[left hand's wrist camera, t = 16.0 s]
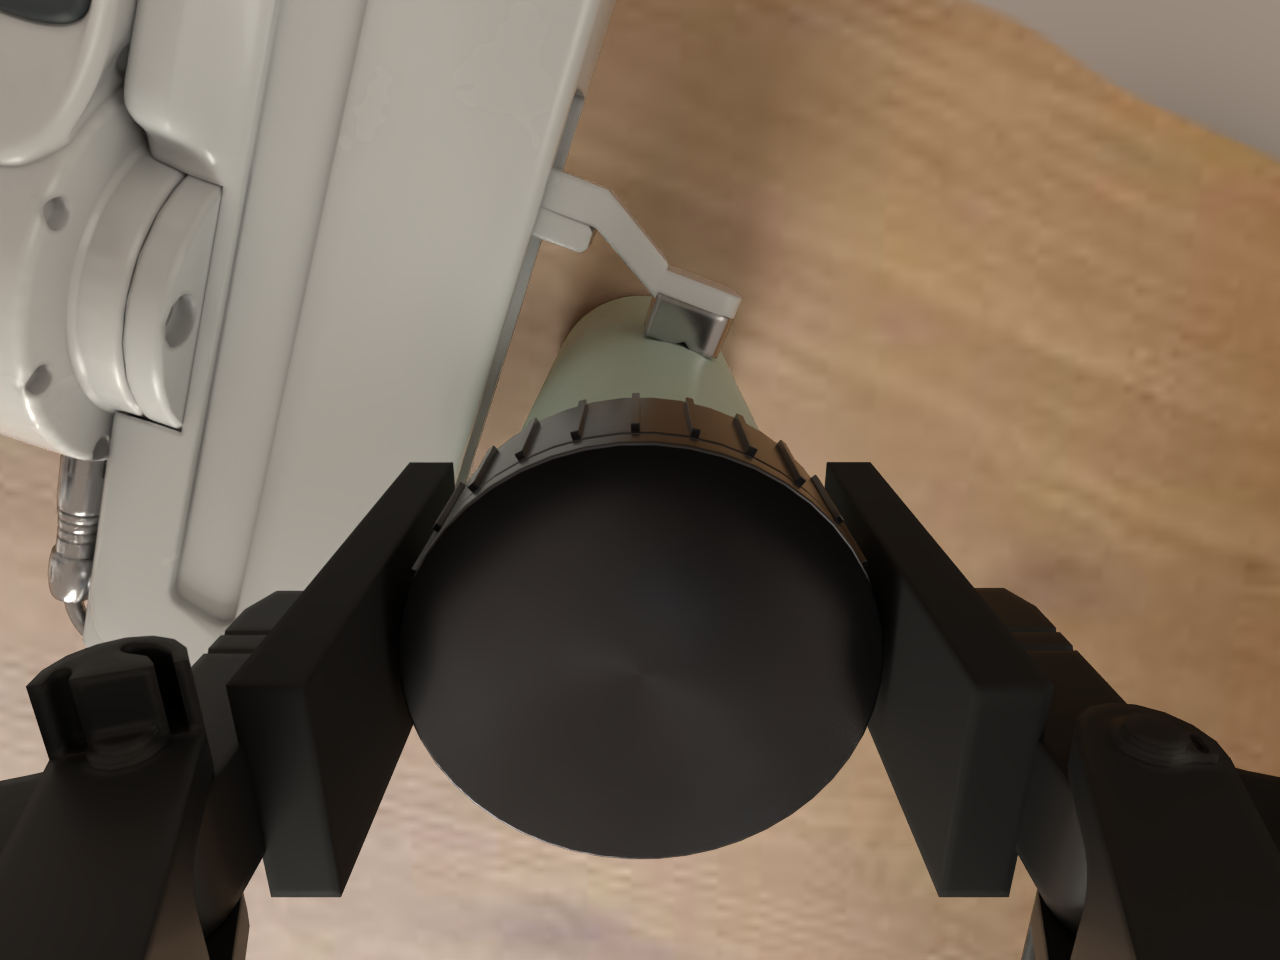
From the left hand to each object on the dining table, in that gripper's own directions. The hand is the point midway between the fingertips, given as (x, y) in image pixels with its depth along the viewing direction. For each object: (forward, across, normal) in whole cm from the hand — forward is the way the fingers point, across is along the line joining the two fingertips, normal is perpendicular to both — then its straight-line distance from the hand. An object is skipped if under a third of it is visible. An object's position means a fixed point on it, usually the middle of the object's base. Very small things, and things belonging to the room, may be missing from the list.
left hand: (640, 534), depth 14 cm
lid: (-4, 0, 0) cm, 4 cm away
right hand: (+5, -1, 0) cm, 5 cm away
